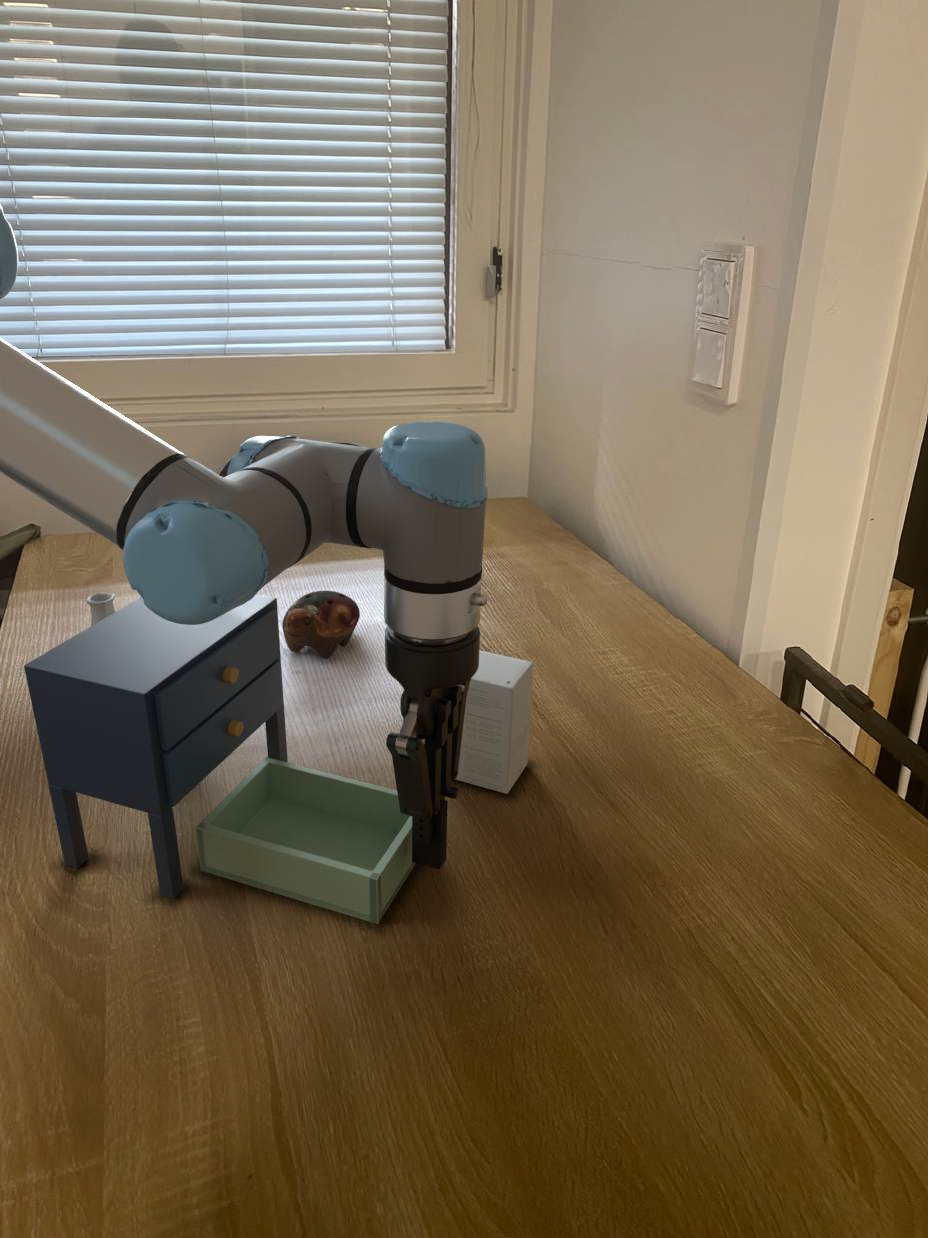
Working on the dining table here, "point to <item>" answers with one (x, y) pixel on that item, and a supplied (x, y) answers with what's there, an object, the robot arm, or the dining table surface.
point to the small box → (496, 723)
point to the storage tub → (311, 839)
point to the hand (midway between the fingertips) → (429, 860)
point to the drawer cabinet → (153, 714)
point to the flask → (100, 606)
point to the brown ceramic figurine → (320, 622)
